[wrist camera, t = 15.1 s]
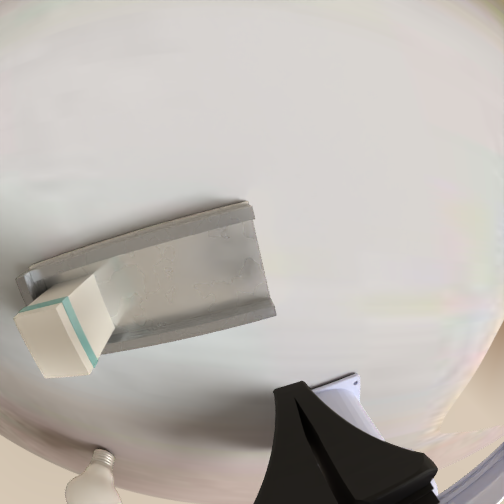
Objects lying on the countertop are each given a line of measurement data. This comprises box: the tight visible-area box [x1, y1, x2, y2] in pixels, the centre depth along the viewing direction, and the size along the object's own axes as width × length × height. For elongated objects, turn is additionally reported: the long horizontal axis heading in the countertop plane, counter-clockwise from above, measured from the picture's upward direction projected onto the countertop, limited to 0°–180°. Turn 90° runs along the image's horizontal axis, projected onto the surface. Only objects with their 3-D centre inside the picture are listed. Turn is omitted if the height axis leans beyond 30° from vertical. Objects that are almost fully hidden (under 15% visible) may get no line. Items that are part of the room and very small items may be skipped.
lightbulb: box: [65, 449, 122, 504], centre depth 18 cm, size 6×6×11 cm
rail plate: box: [16, 201, 277, 355], centre depth 18 cm, size 8×18×3 cm, turn 103°
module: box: [13, 274, 115, 378], centre depth 16 cm, size 5×4×6 cm
